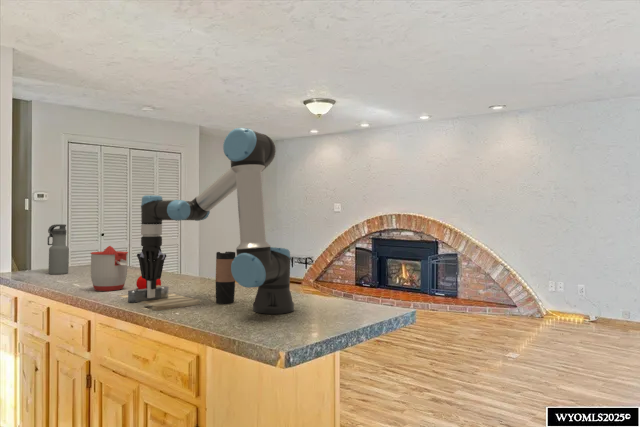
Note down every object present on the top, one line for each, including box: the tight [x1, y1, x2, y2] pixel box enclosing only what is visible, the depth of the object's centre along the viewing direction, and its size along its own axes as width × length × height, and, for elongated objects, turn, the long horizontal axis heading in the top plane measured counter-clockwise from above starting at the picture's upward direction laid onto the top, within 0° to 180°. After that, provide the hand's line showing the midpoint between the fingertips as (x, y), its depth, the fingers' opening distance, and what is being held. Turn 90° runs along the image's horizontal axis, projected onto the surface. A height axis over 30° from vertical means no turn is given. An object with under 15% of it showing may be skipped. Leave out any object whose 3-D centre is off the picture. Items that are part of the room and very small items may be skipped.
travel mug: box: [215, 251, 236, 305], centre depth 179 cm, size 8×8×20 cm
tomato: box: [135, 275, 162, 290], centre depth 199 cm, size 9×10×8 cm
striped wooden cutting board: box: [117, 292, 201, 312], centre depth 178 cm, size 31×18×2 cm, turn 49°
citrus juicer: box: [90, 245, 129, 293], centre depth 205 cm, size 16×17×20 cm
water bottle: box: [47, 223, 70, 276], centre depth 256 cm, size 10×10×28 cm
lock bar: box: [127, 285, 169, 303], centre depth 174 cm, size 16×5×4 cm, turn 139°
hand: (151, 297), depth 172 cm, fingers closed
